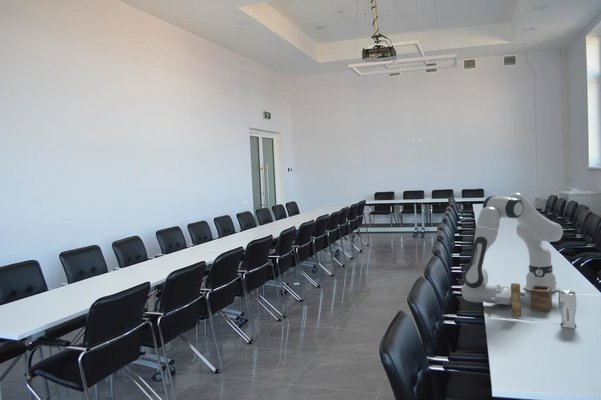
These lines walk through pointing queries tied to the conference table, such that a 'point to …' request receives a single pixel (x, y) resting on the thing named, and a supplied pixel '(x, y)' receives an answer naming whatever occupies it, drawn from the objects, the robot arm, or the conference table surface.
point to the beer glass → (567, 308)
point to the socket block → (541, 298)
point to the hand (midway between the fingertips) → (523, 297)
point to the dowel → (516, 299)
